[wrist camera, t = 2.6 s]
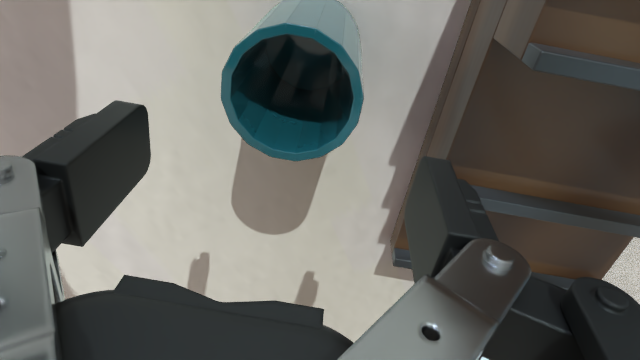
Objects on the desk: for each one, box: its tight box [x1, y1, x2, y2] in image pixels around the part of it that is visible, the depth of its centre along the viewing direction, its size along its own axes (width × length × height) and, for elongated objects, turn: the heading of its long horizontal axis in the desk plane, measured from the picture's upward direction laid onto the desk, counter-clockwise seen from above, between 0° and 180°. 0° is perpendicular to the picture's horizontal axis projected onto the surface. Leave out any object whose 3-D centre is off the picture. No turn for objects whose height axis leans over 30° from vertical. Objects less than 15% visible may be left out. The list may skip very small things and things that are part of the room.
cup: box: [221, 0, 364, 161], centre depth 20 cm, size 6×6×8 cm
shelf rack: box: [390, 0, 640, 290], centre depth 19 cm, size 15×24×12 cm, turn 171°
